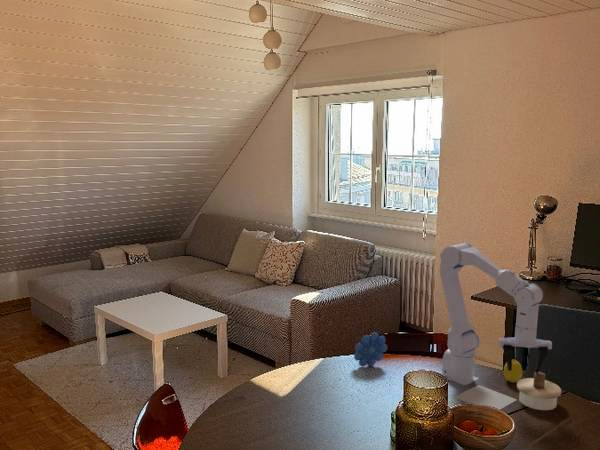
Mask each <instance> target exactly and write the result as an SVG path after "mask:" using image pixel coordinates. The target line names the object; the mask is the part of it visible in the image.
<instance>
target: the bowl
mask: <svg viewBox="0 0 600 450" xmlns="http://www.w3.org/2000/svg"><path fill="white" fill-rule="evenodd" d="M518 399H519V402H520V404H522V405H524V406H525V407H528V408H530V409H533V410H538V411H539V410H540V411H550V410H551V411H552V410H554V409H555V408H557V405H558V397H557V398H553V399H542V398H536V397H532V396H529V395H526V394H524V393H522V392H521V391H519V396H518Z"/></svg>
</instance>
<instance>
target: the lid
mask: <svg viewBox="0 0 600 450" xmlns="http://www.w3.org/2000/svg"><path fill="white" fill-rule="evenodd" d="M516 388H517V390H518V391H519V392H520V391H521V392H522V393H524V394H526V395H529V396H532V397H536V398H542V399H553V398H557V399H558V398H559V397H560V396H561V395H562V389H561V387H560V386H559V385H558V384H556V383H555V382H552V381H549V380H547V379H546V373H544V372H542V371H539V372H536V371H534V373H533V377H527V378H526V377H525V378H521V379H520V380H519V381H517V382H516Z"/></svg>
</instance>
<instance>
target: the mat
mask: <svg viewBox="0 0 600 450" xmlns="http://www.w3.org/2000/svg"><path fill="white" fill-rule="evenodd" d="M454 398H455V399H457V400H460V401H462V402H464V403H466V404H469V405H471V404H482V405H487V406H491V407H495V408H497V409H499V411H501V410H502V409H505V408H506V407H507V406H509V405H510V404H512V403H514V402H516V401H518V399H516V398H514V397H512V396H508V395H507V394H505V393H500V392H498V391H496V390H493V389H490V388H488V387H485V386H483V385H479V384H478V385H476V386H474V387H471V388H469V389H467V390H465V391H463V392H461V393H459V394H457V395H456V396H454Z"/></svg>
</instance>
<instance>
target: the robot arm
mask: <svg viewBox="0 0 600 450" xmlns="http://www.w3.org/2000/svg"><path fill="white" fill-rule="evenodd" d="M439 257H440V265H439V275H440V280H441V285H442V291H443V294H444V298H445V303H446V308H447V312H448V317H449V321H450V327H449V328H448V331H447V344H446V345H447V348H448V349H446V350H445V351H444V353H443V355H442V369H441V371H442V372H441V375H442V374H443V375H445V376H446V377H447V378H448V380H450V381H453V382H455V383H457V384H460V385H462V386H467V385H469V384H471V383H473V382H476V381H478V380H479V377H476V376H474V374H475V373H474V372H475V371H474V370H475V356H476V355H475V354H476V349H477V348H478V347H479V345H480V343H481V340H480V337H479V334H478V333H477V332H476V330H475V326H474V325H473V324H472V323H471V322H470V321H469V319H468V314H467V310H466V305H465V301H464V300H465V299H464V296H463V291H462V286H461V282H460V277H459V273H460V272H461V270H462V269H463V268H464V266H473V267H475V268H477V269H479V270H480V271H482V272H483V273H485V274H486V275H487V276H489V277H490V278H493V279H494V283H495V285H496V286H497V287H499V288H500V289H502V290H503V291H505V293H507V294H508V295H510V297H513V299H514V301H515V303H516V319H515V320H516V322H515V333H514V337H498V342H497V343H498V346H499V347H501V348H502V351H503V353H504V356H505V360H506V363H507V368H508V370H509V371H511V369H512V360H513V355H514V350H513V347H519V348H520V347H521V348H528V349H529V348H530V349H531V348H534V350H535V352H534V354H535V356H534V357H535V358H534V366H533V369H534V372H540V370H541V369H540V368H541V366H542V365H543V362H544V360H545V359H546V358H547V356H548V355H549V350H552V349H553V342H552V341H551V340H546V339H545V340H544V339H540V338H537V329H538V320H539V309H540V308H539V307H540V304H539V303H541V301H543V298H544V292H543V290H542V288H541V287H540V286H539V285H538V284H536V283H529V281H528V280H524V279H523V278H521V277H520V276H519V275H517V274H516V272H515V271H514V270H512V269H511V270H510V269H508V268H507V269H502V268H501V267H499V266H498V265H496V264H495V263H494V262H492V261H491V260H490V259H489V258H487V257H486V256H485V255H484V254H483V253H481V252H480V251H479V250H478V248H477V247H475V246H472V244H471V243H469V242H461V243H459V244H454V245H448V246H445V247H444V248H443V250H442V251H441V253H440V254H439ZM445 376H444V377H445ZM447 378H446V379H447Z"/></svg>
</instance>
